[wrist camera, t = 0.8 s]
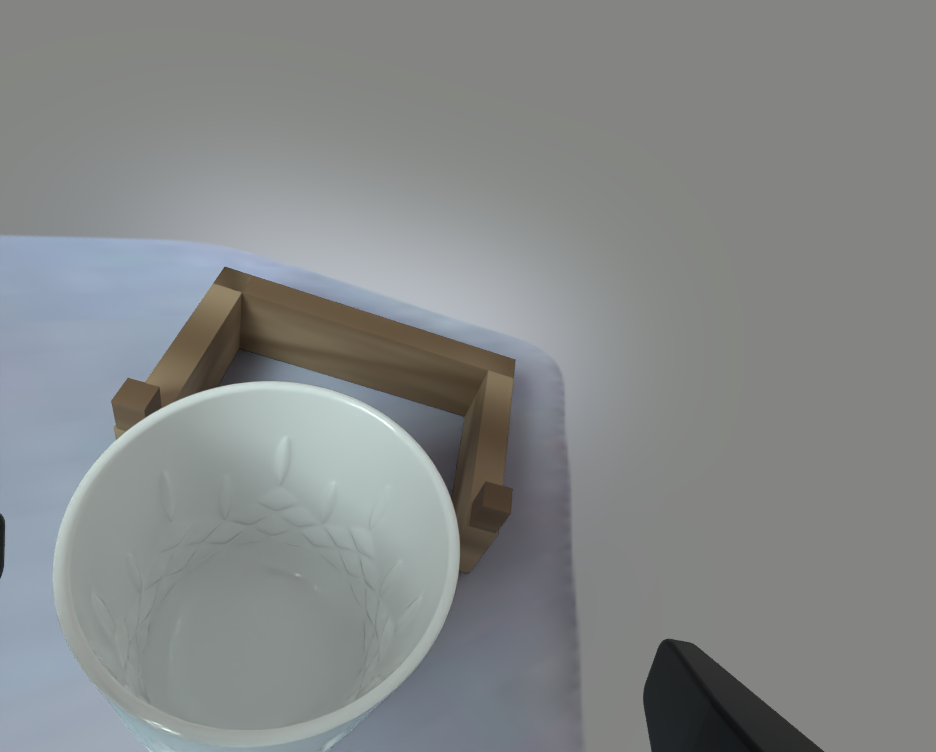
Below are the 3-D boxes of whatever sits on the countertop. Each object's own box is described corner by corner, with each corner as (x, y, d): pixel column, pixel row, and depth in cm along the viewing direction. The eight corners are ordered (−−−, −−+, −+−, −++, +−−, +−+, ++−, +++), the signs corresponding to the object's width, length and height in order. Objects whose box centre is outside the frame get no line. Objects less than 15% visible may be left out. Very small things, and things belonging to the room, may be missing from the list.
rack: (468, 573, 24) (513, 514, 20) (124, 482, 22) (107, 399, 18) (490, 405, 30) (527, 337, 27) (223, 323, 28) (225, 238, 25)
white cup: (343, 838, 17) (433, 786, 10) (59, 788, 16) (-62, 692, 9) (395, 579, 23) (477, 429, 16) (185, 529, 22) (171, 342, 15)
